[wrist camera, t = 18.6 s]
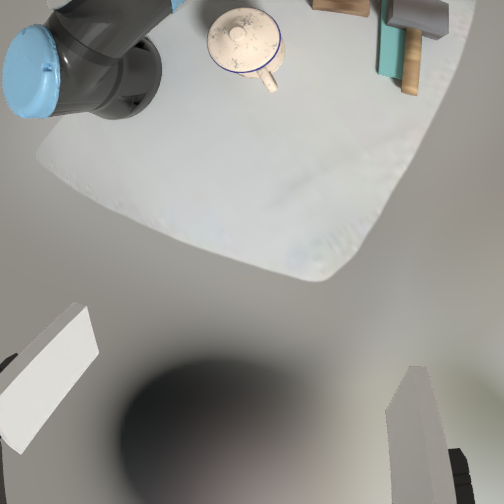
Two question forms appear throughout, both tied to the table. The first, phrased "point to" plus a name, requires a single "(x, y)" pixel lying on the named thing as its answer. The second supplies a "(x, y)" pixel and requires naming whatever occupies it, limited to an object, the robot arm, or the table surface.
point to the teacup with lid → (247, 44)
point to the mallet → (416, 32)
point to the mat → (391, 48)
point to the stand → (344, 6)
